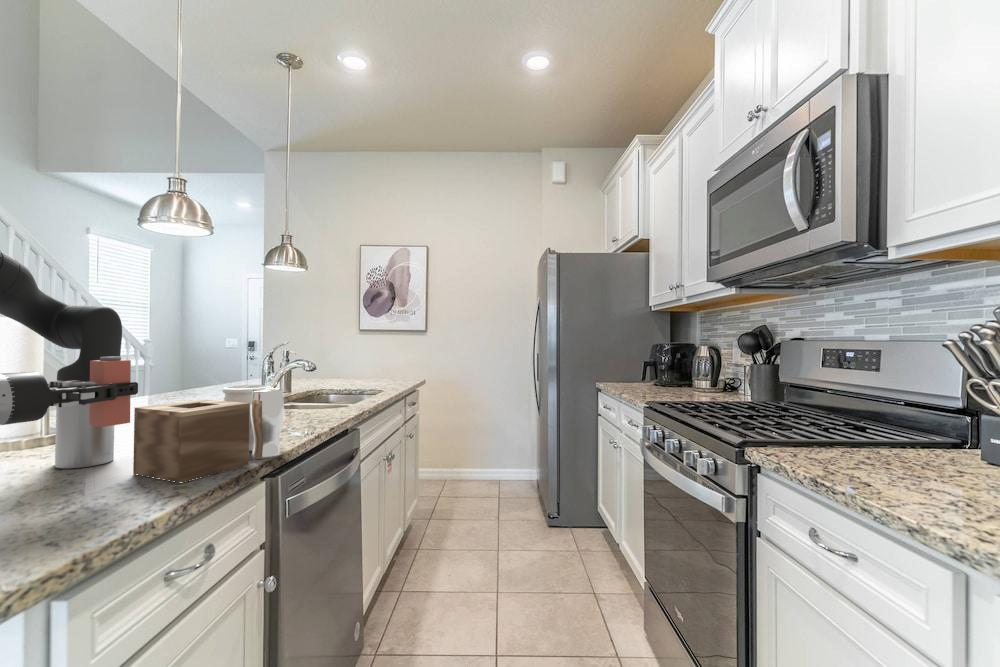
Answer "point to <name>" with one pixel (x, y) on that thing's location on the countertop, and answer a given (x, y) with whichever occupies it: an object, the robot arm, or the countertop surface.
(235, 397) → the jar
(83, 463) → the robot arm
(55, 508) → the countertop surface
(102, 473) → the countertop surface
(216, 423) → the slot box
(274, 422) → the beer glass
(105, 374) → the spice tin
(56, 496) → the countertop surface
